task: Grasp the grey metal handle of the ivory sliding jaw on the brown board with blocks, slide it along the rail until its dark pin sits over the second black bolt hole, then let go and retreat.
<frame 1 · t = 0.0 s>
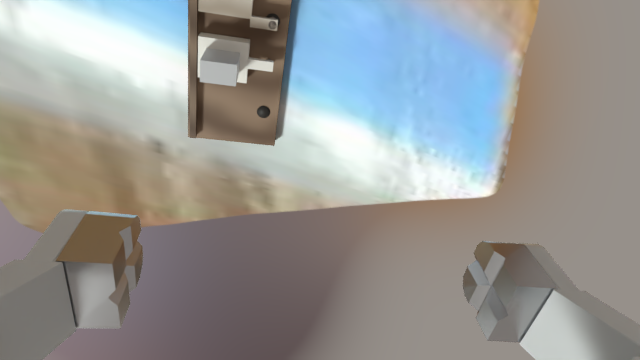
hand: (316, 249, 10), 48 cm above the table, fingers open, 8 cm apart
sliding jaw: (234, 66, 50), point 5 cm above the table, slide at 0.0 cm
brown board with blocks: (237, 68, 56), on the table
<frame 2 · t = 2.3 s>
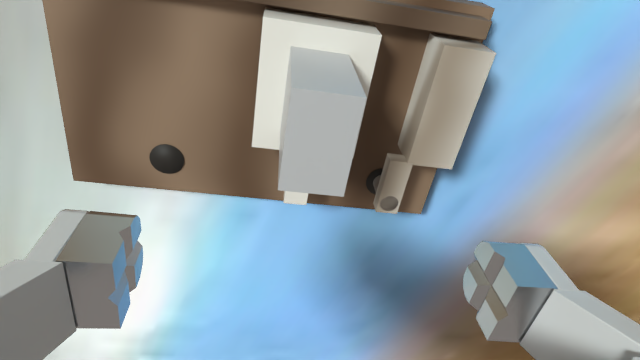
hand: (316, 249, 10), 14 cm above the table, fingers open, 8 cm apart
sliding jaw: (308, 140, 18), point 5 cm above the table, slide at 0.0 cm
brown board with blocks: (268, 91, 22), on the table
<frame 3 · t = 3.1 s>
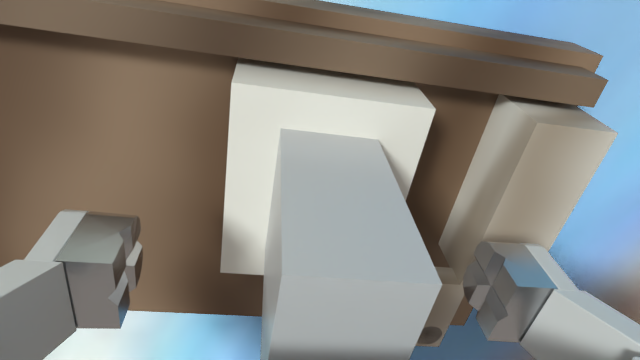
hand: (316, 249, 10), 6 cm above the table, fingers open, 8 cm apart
sliding jaw: (312, 279, 11), point 5 cm above the table, slide at 0.0 cm
brown board with blocks: (248, 169, 15), on the table
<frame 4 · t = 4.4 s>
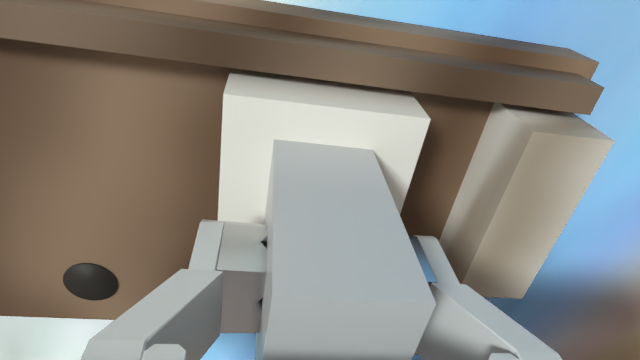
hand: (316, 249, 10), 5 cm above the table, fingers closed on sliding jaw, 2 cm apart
sliding jaw: (307, 291, 11), point 5 cm above the table, slide at 0.0 cm, touching gripper
brown board with blocks: (242, 177, 15), on the table
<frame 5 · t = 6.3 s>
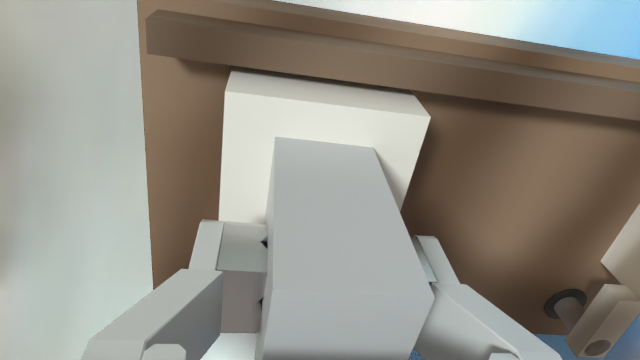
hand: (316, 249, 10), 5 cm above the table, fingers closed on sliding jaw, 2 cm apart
sliding jaw: (307, 287, 11), point 5 cm above the table, slide at 7.1 cm, touching gripper
brown board with blocks: (429, 193, 16), on the table
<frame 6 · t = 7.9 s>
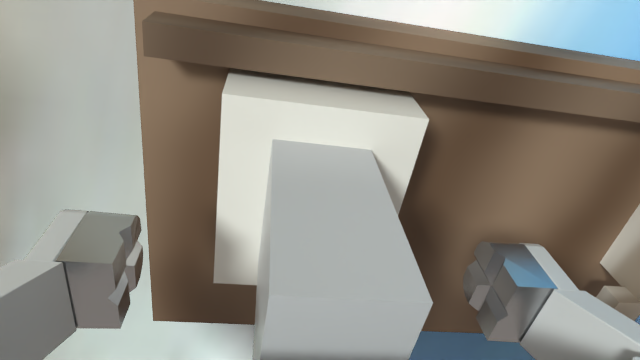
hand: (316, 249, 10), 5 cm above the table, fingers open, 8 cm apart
sliding jaw: (305, 290, 11), point 5 cm above the table, slide at 7.1 cm
brown board with blocks: (427, 194, 16), on the table
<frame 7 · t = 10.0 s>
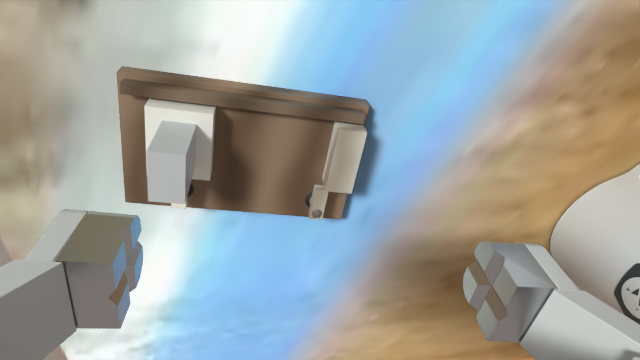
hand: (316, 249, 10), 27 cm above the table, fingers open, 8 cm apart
sliding jaw: (175, 172, 33), point 5 cm above the table, slide at 7.1 cm
brown board with blocks: (244, 147, 38), on the table
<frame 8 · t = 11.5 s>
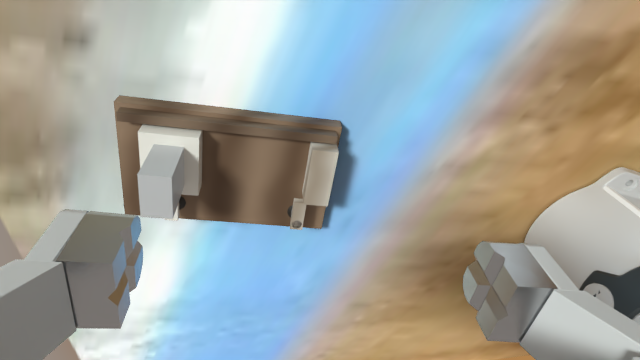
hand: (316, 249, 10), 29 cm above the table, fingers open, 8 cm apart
sliding jaw: (166, 189, 37), point 5 cm above the table, slide at 7.1 cm
brown board with blocks: (230, 164, 42), on the table
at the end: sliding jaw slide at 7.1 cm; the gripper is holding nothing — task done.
